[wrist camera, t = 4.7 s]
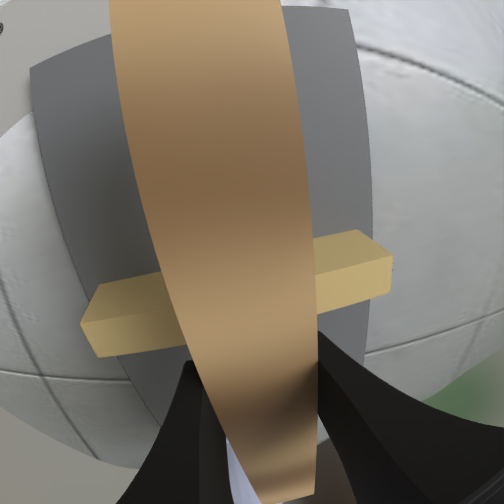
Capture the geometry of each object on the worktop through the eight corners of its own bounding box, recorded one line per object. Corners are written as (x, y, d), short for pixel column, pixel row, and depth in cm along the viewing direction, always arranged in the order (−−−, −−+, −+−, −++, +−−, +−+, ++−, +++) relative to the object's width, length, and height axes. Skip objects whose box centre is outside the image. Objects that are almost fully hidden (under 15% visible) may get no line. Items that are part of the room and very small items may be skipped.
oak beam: (296, 443, 16) (313, 493, 13) (250, 454, 16) (263, 506, 12) (238, 10, 7) (267, -54, 3) (140, 27, 7) (107, -30, 3)
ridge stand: (354, 380, 22) (377, 419, 18) (166, 424, 21) (166, 470, 17) (339, 14, 12) (384, -12, 7) (38, 70, 10) (-10, 58, 6)
